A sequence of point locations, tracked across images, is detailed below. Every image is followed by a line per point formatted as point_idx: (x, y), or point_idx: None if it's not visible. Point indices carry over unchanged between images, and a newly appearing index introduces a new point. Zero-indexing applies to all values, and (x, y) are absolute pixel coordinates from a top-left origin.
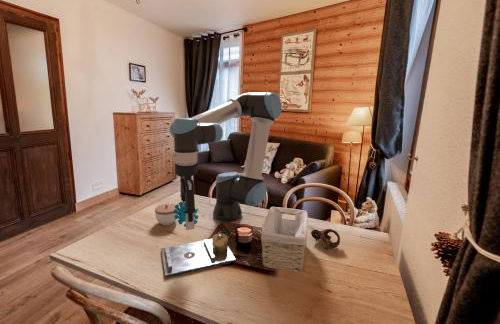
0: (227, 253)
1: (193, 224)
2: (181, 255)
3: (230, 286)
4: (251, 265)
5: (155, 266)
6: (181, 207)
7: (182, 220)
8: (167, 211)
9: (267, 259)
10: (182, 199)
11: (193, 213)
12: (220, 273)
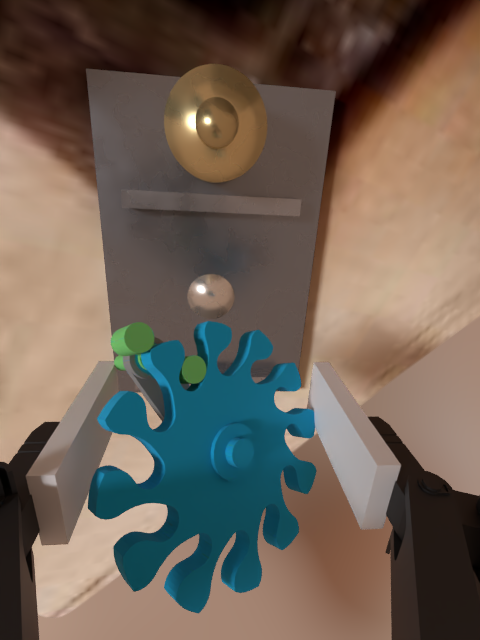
0: (273, 114)
1: (342, 386)
2: None
3: (450, 189)
4: (396, 21)
5: None
6: (193, 534)
7: (295, 468)
8: None
9: None
10: (33, 565)
11: (388, 453)
12: (365, 199)
